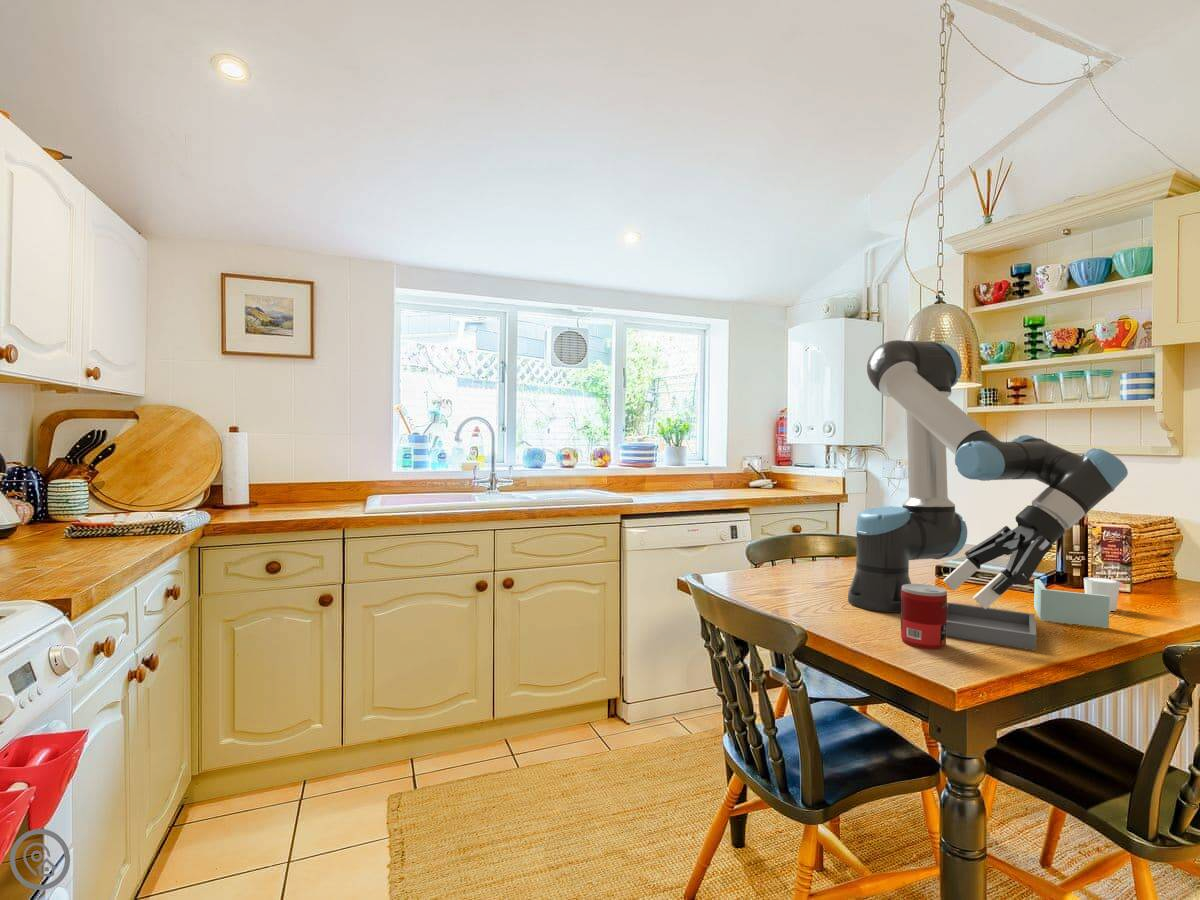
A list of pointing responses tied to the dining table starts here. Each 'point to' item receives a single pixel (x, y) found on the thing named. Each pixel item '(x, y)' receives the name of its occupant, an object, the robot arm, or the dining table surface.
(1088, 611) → the l-shaped corner panel
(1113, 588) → the white cup
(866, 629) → the dining table surface
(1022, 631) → the gray square tray
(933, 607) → the canned food
